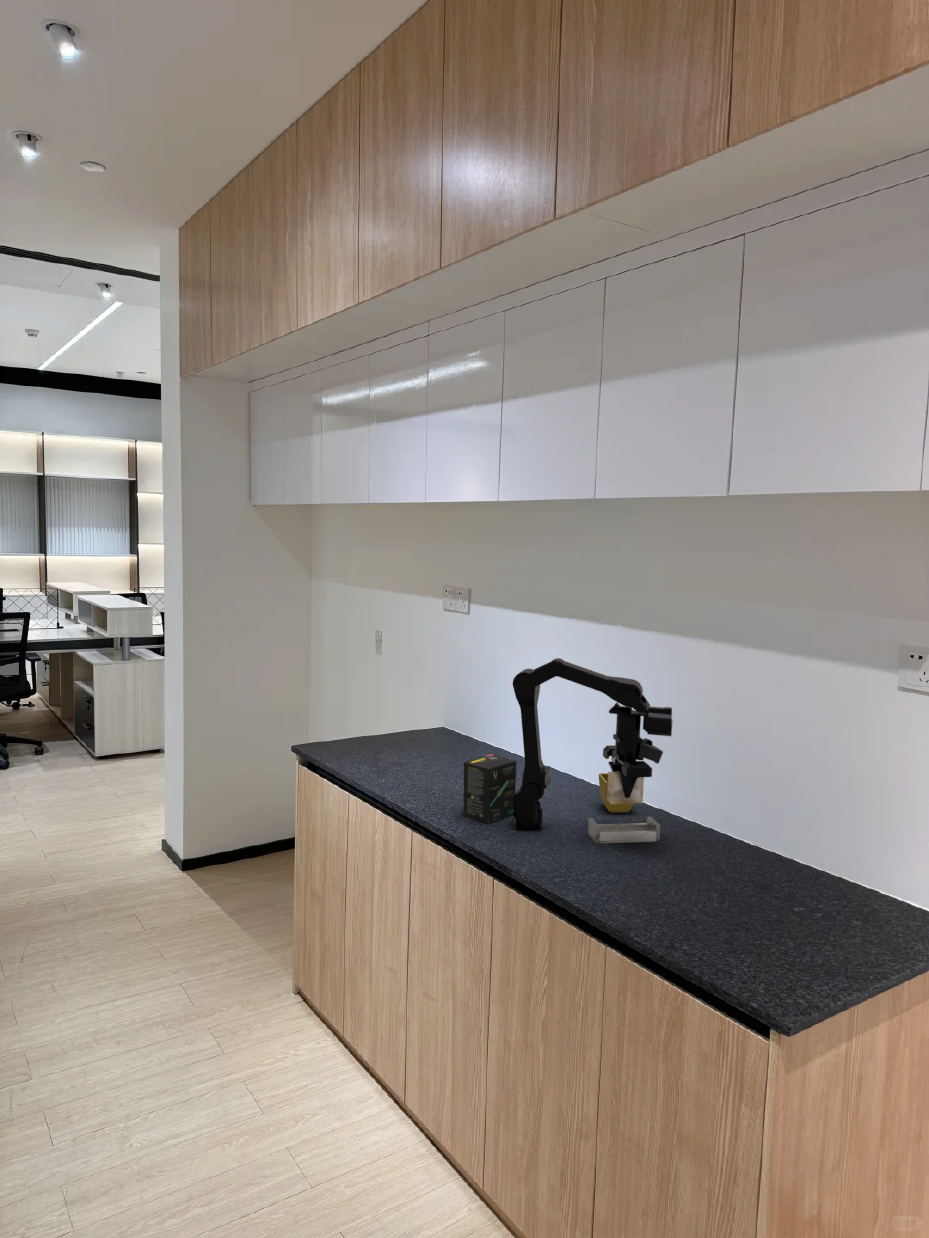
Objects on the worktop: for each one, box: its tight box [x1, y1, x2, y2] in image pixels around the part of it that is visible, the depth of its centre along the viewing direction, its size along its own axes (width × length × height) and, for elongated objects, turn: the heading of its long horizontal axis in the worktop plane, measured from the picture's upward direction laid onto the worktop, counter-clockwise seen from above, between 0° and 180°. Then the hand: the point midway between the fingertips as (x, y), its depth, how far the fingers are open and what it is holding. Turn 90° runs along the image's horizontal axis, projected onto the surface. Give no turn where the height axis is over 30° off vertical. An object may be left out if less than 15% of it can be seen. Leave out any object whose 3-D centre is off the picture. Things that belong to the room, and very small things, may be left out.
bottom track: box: [587, 816, 661, 844], centre depth 202 cm, size 16×6×4 cm, turn 98°
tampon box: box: [462, 753, 517, 825], centre depth 216 cm, size 11×9×15 cm
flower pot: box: [598, 772, 635, 814], centre depth 223 cm, size 9×9×9 cm
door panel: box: [607, 771, 645, 804], centre depth 201 cm, size 8×3×7 cm, turn 98°
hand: (624, 795), depth 202 cm, fingers closed on door panel, 3 cm apart
